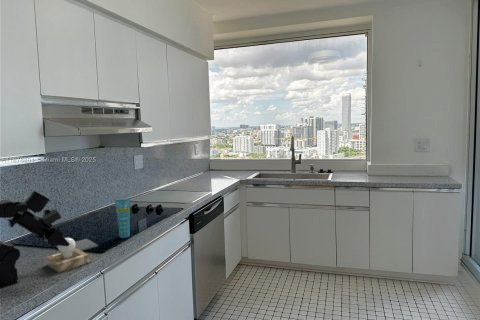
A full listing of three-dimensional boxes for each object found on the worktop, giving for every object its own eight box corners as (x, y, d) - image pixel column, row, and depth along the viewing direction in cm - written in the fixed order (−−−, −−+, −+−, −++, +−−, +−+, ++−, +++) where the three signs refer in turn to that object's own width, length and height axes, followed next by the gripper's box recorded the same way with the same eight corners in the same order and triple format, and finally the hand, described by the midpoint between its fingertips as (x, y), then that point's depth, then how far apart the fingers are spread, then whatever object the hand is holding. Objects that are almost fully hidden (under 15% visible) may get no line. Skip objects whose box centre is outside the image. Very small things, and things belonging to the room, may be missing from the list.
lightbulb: (67, 268, 137) (65, 241, 136) (56, 266, 140) (53, 239, 139) (80, 261, 143) (78, 236, 142) (69, 260, 146) (66, 234, 144)
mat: (66, 255, 151) (66, 253, 151) (56, 247, 161) (56, 246, 161) (98, 246, 161) (98, 245, 161) (86, 239, 171) (86, 238, 171)
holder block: (58, 272, 133) (57, 264, 133) (47, 264, 141) (46, 256, 141) (89, 262, 142) (88, 254, 142) (77, 256, 150) (76, 248, 150)
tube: (118, 239, 171) (115, 201, 169) (116, 236, 175) (113, 199, 173) (133, 236, 174) (130, 199, 172) (131, 233, 178) (129, 197, 176)
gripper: (55, 208, 128) (87, 229, 137) (37, 201, 140) (68, 221, 150) (33, 234, 123) (68, 254, 132) (17, 225, 135) (50, 244, 145)
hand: (64, 242), depth 140 cm, fingers open, 9 cm apart
